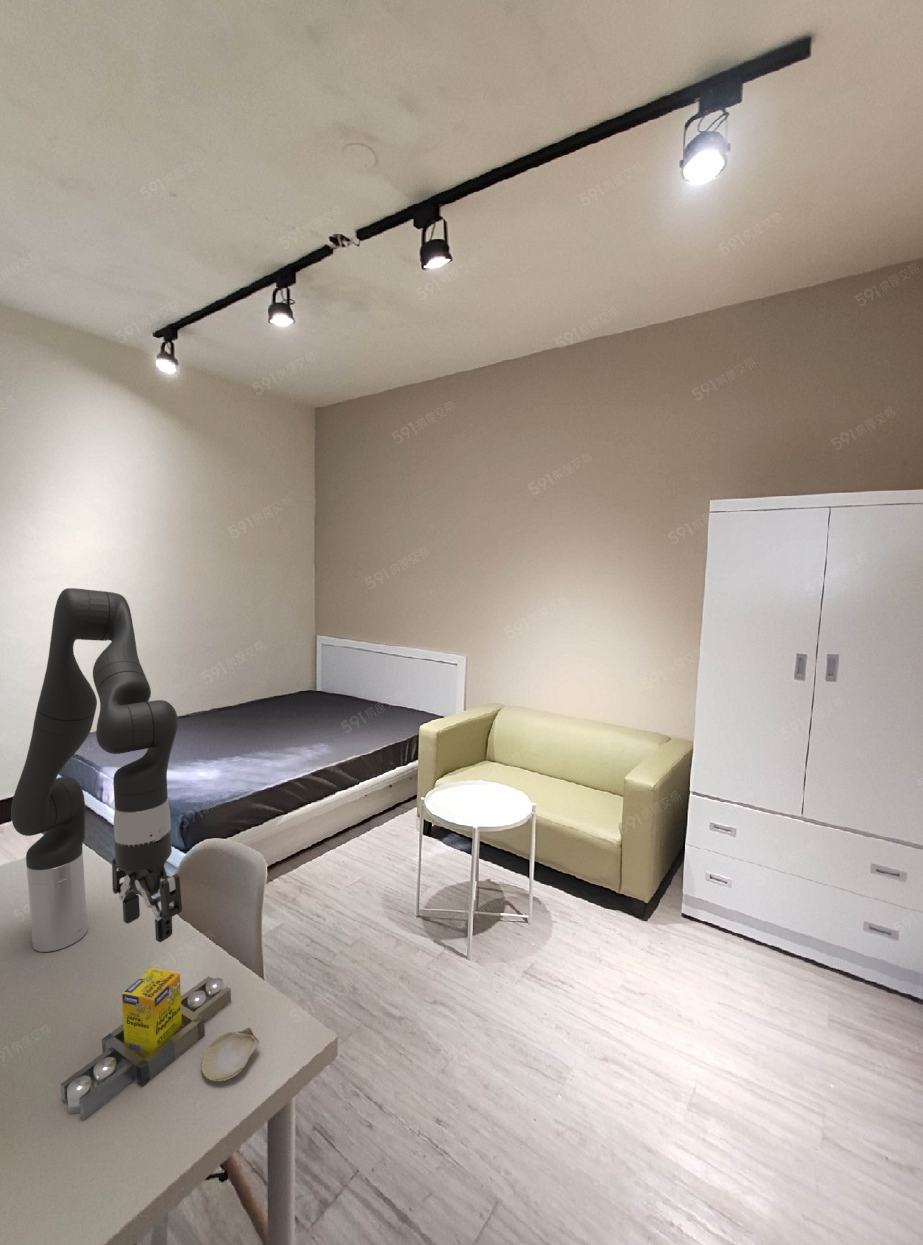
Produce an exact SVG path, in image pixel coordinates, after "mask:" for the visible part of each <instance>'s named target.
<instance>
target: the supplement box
mask: <svg viewBox="0 0 923 1245" xmlns="http://www.w3.org/2000/svg"><path fill="white" fill-rule="evenodd" d="M181 994H182V993H181V973H179V972H175V971H171V970H165V969H160V968H154V967H150V968H148V969H147V970H146V971H145V973H143V974H142V975H141V976H140V977H139V978H137V980H135V982H133V983H132V984H131V985H130V986H129V987H127V988H126V989H125V990H124V991H122V992H121V1002H122V1020H123V1023H122V1024H124V1044H125V1045H126V1046H127V1047H129V1048H130V1049H131V1050H133V1051H134V1052H136V1053H137V1054H138V1055H140V1056H141V1057H142V1058H144V1059H145V1058H146V1057H147V1056H149V1055H150V1054H151V1053H152V1052H154V1051H155V1050H156V1049H158V1048H159V1047H160V1046H161V1045H163V1044H164V1043H165V1042H167V1041H168V1040H169V1039H170V1038H172V1037H173V1036H174V1035H175V1034H177V1033H178V1032H179V1031H181V1030H182V1013H181V996H182V995H181Z"/></svg>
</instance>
